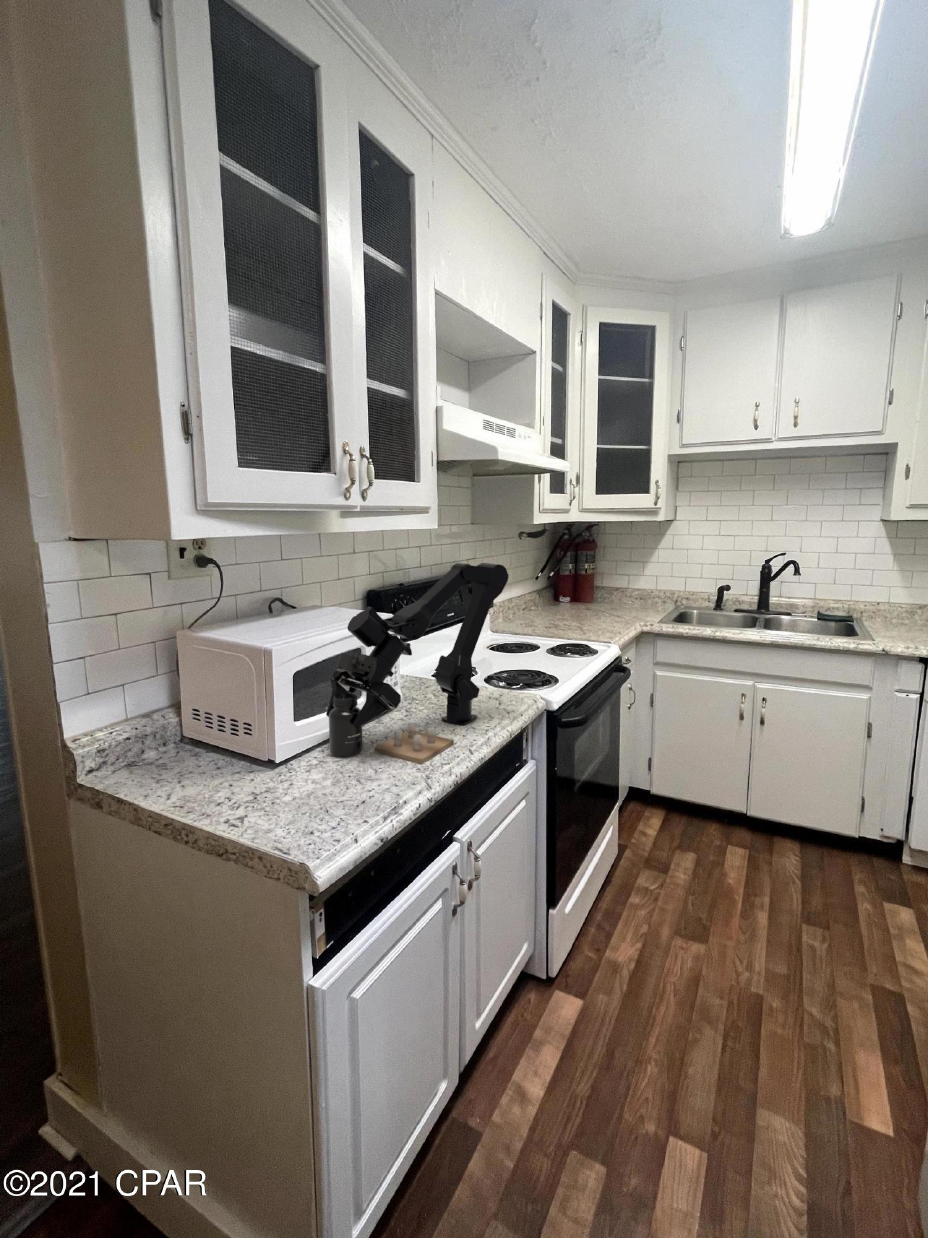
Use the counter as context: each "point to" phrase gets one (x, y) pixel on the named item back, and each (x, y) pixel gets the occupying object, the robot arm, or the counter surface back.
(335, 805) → the counter surface
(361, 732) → the supplement bottle
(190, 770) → the counter surface
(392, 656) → the robot arm
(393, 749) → the peg stand
